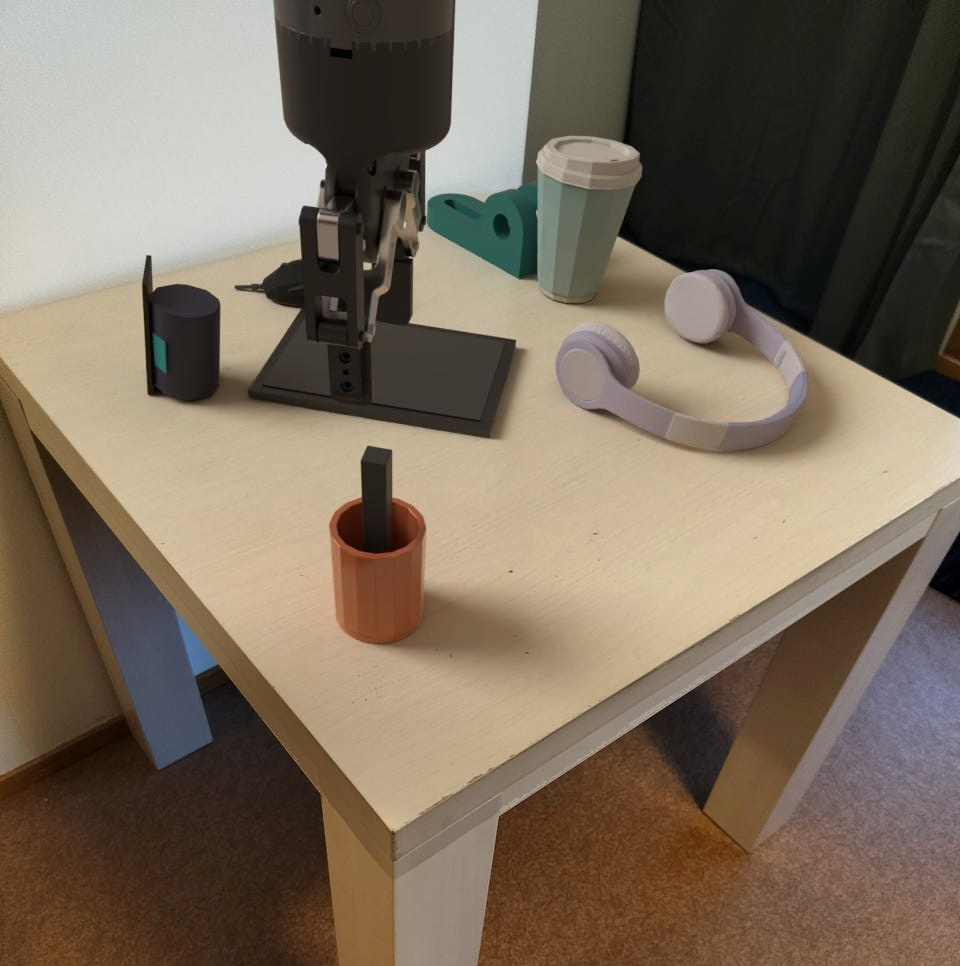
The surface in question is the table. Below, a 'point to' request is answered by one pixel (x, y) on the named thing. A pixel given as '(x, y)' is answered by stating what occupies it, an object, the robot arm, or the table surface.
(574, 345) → the headphones
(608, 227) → the disposable coffee cup
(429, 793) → the table surface
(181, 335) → the speaker
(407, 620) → the pen cup
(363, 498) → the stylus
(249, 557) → the table surface
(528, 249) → the bracket
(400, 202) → the robot arm
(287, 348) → the tablet
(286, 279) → the gaming mouse
